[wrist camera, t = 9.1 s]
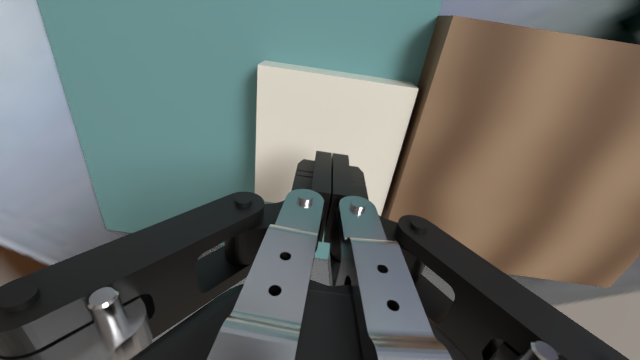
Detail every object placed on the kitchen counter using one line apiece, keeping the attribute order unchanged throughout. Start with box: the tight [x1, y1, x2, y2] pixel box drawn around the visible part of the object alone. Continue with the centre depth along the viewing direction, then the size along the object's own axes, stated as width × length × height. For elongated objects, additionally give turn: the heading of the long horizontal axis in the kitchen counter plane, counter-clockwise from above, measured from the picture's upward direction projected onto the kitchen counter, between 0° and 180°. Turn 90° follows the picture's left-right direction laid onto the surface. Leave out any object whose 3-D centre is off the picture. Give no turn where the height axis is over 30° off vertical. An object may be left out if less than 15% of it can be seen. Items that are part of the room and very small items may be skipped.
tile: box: [255, 60, 419, 216], centre depth 17 cm, size 8×8×2 cm
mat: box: [37, 0, 443, 260], centre depth 17 cm, size 20×20×1 cm
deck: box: [381, 16, 640, 288], centre depth 17 cm, size 16×14×2 cm
